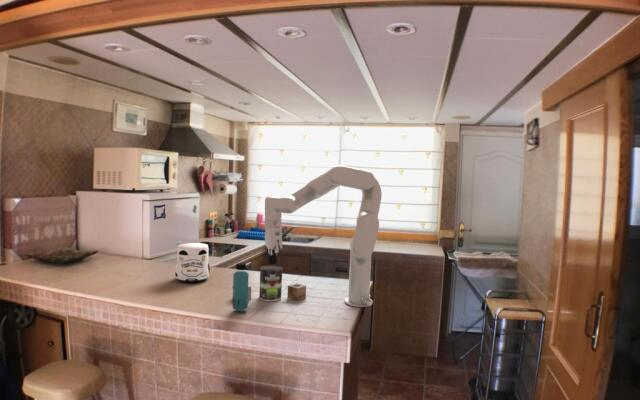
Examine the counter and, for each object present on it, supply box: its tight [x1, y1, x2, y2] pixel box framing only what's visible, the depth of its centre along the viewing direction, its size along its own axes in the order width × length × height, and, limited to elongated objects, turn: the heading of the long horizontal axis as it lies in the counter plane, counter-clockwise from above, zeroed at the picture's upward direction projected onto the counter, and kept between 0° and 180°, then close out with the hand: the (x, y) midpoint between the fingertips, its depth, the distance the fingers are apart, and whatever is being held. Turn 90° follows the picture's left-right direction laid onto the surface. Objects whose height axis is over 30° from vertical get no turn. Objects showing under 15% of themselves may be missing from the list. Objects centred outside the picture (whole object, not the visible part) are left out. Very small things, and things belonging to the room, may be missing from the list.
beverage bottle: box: [231, 262, 250, 311], centre depth 159 cm, size 6×7×20 cm
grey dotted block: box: [248, 282, 252, 301], centre depth 176 cm, size 6×6×6 cm
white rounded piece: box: [174, 242, 211, 283], centre depth 201 cm, size 17×17×18 cm
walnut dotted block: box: [286, 282, 307, 302], centre depth 179 cm, size 6×6×6 cm
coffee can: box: [258, 264, 284, 302], centre depth 177 cm, size 10×10×14 cm
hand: (272, 263), depth 177 cm, fingers closed
